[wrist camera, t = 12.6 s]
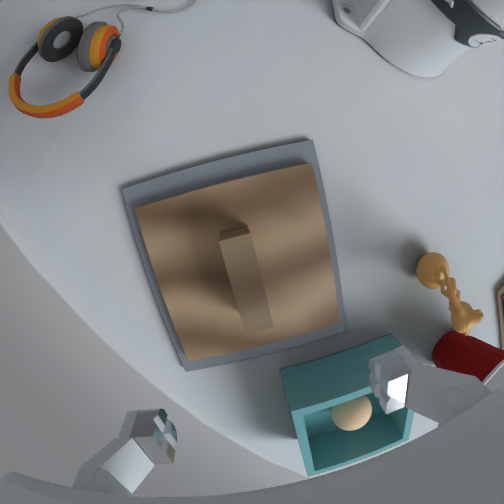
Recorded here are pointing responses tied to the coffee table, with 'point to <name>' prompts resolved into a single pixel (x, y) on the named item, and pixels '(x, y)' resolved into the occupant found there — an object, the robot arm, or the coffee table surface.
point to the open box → (336, 392)
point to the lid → (243, 261)
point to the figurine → (447, 291)
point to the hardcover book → (501, 312)
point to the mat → (216, 175)
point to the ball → (352, 413)
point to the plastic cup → (470, 358)
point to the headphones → (89, 56)
